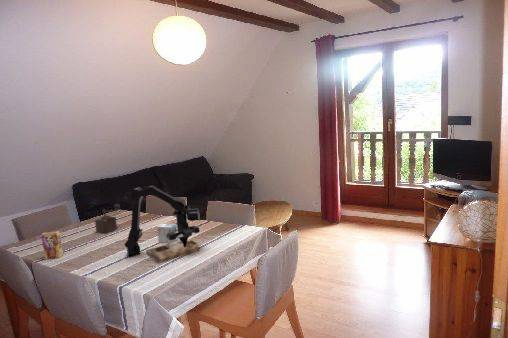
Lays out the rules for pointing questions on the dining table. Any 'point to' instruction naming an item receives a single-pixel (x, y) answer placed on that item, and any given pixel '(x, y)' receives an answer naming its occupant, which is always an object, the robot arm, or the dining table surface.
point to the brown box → (106, 222)
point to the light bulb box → (165, 229)
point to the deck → (167, 253)
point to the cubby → (189, 246)
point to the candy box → (52, 245)
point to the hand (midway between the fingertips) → (184, 246)
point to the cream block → (176, 246)
